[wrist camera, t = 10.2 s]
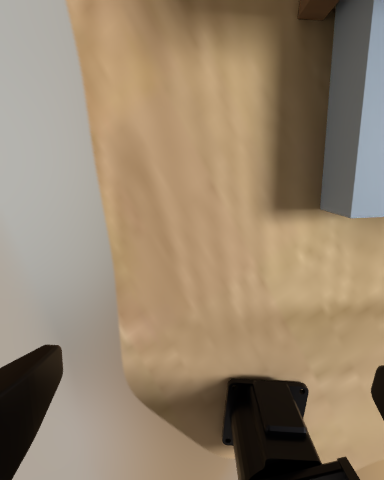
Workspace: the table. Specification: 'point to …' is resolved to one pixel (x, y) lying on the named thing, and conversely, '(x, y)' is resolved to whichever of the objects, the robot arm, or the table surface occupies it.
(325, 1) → the wooden arch
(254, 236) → the table surface
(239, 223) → the table surface
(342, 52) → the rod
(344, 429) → the table surface
